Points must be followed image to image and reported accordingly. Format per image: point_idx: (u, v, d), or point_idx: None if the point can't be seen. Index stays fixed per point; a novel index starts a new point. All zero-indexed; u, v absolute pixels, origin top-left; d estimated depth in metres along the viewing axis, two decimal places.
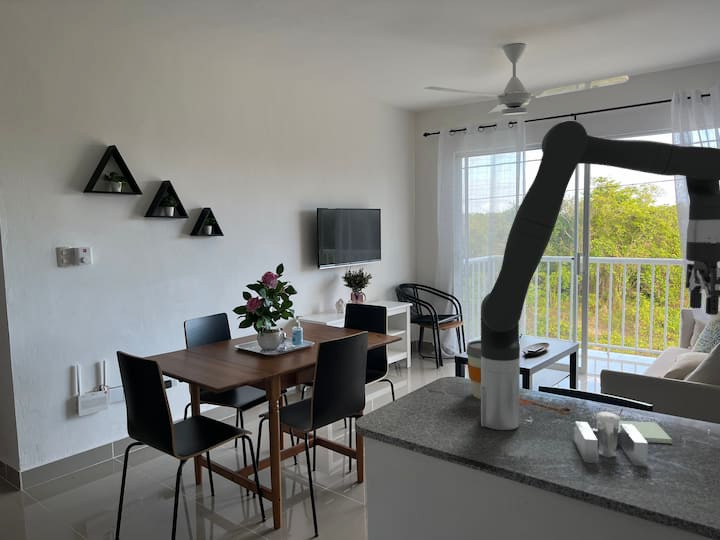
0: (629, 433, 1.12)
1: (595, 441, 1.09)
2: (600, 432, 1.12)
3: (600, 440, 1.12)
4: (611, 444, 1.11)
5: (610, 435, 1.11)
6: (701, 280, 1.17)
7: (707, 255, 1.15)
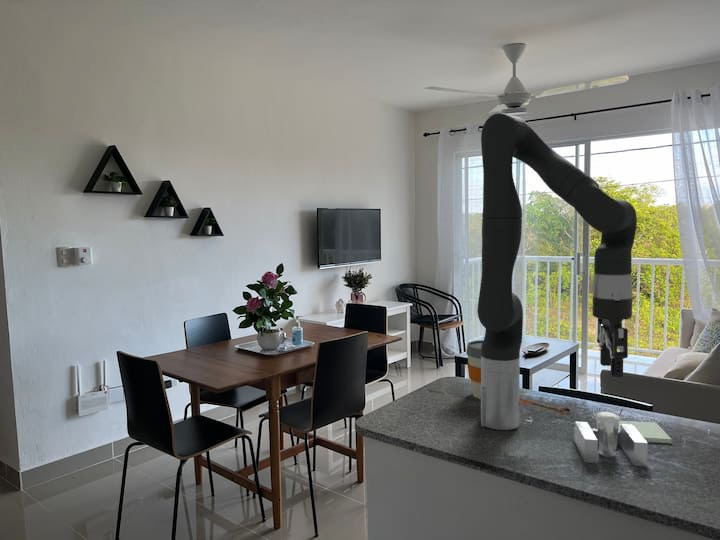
0: (629, 433, 1.12)
1: (595, 441, 1.09)
2: (600, 432, 1.12)
3: (600, 440, 1.12)
4: (611, 444, 1.11)
5: (610, 435, 1.11)
6: (606, 339, 1.09)
7: (611, 313, 1.07)
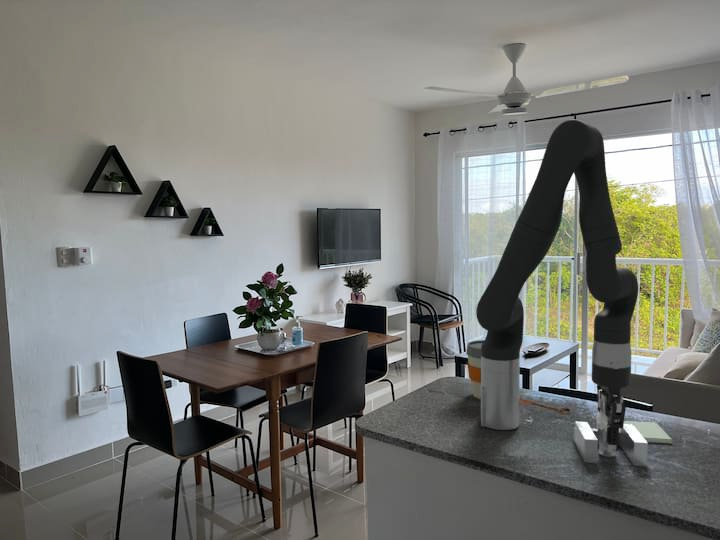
0: (629, 433, 1.12)
1: (595, 441, 1.09)
2: (600, 432, 1.12)
3: (600, 440, 1.12)
4: None
5: None
6: (604, 407, 1.11)
7: (610, 381, 1.08)
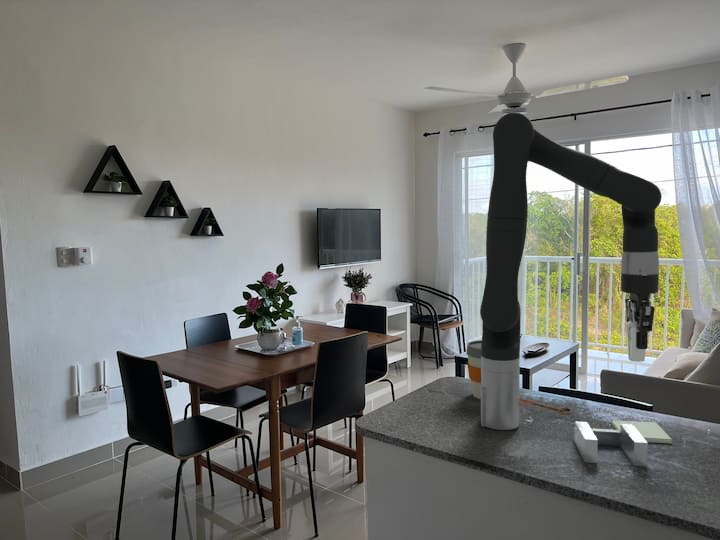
0: (629, 433, 1.12)
1: (595, 441, 1.09)
2: (629, 339, 1.19)
3: (630, 346, 1.19)
4: (640, 349, 1.18)
5: None
6: (633, 313, 1.17)
7: (638, 287, 1.15)
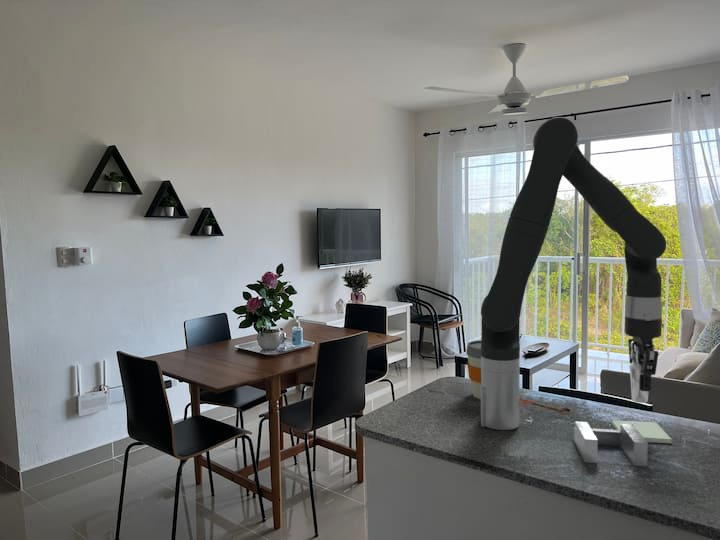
0: (629, 433, 1.12)
1: (595, 441, 1.09)
2: (633, 380, 1.22)
3: (633, 387, 1.22)
4: None
5: None
6: (637, 356, 1.21)
7: (642, 332, 1.18)
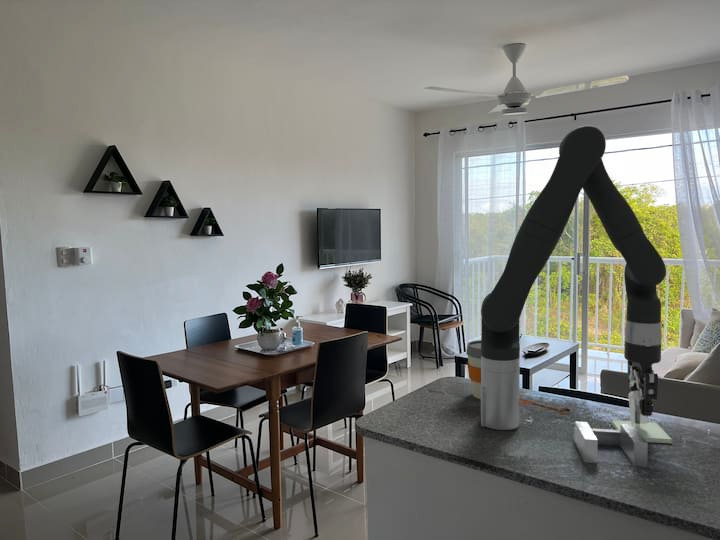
0: (629, 433, 1.12)
1: (595, 441, 1.09)
2: (632, 409, 1.23)
3: (632, 416, 1.23)
4: (643, 419, 1.22)
5: None
6: (637, 381, 1.21)
7: (642, 357, 1.19)
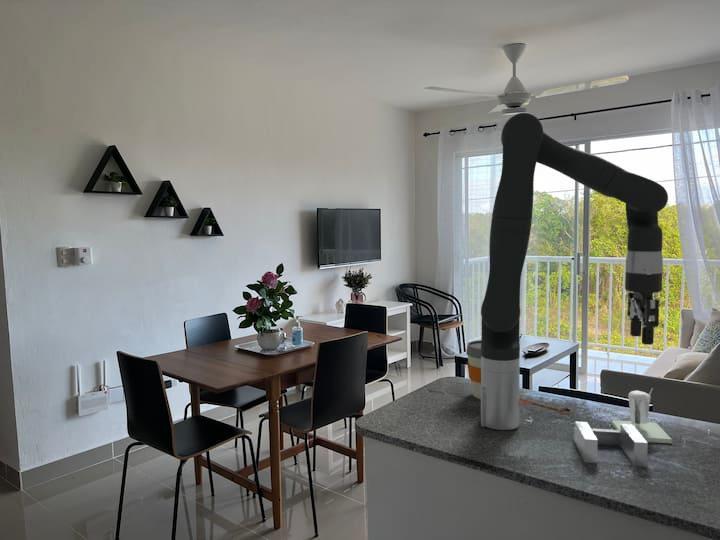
0: (629, 433, 1.12)
1: (595, 441, 1.09)
2: (632, 409, 1.23)
3: (632, 416, 1.23)
4: (643, 419, 1.22)
5: (642, 411, 1.21)
6: (638, 310, 1.19)
7: (643, 286, 1.18)
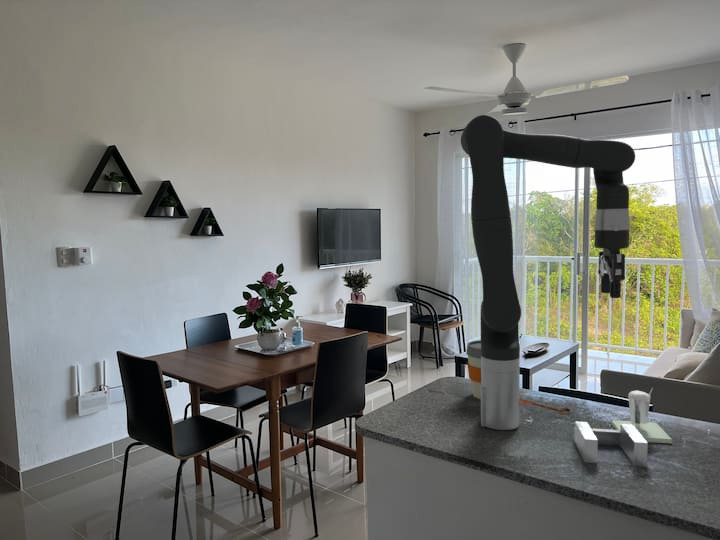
0: (629, 433, 1.12)
1: (595, 441, 1.09)
2: (632, 409, 1.23)
3: (632, 416, 1.23)
4: (643, 419, 1.22)
5: (642, 411, 1.21)
6: (606, 266, 1.24)
7: (610, 242, 1.23)
